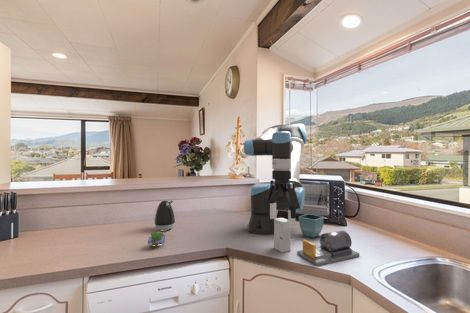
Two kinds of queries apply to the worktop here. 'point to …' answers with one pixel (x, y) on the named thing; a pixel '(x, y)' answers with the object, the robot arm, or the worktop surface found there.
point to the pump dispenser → (164, 216)
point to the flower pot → (311, 224)
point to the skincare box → (282, 235)
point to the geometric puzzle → (156, 238)
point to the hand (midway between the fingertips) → (281, 222)
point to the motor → (329, 249)
